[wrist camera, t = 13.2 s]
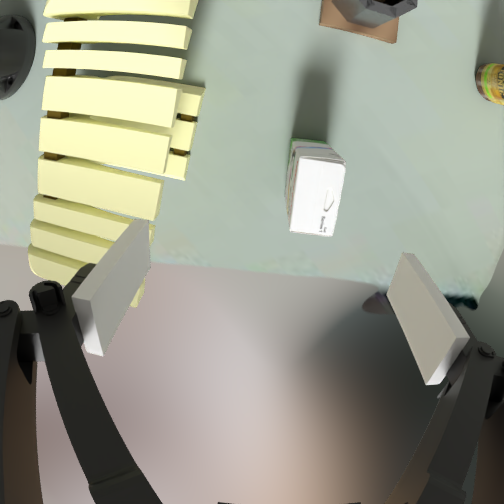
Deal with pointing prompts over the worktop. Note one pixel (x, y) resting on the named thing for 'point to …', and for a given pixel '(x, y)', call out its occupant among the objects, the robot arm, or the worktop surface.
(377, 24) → the grey hollow octagonal piece
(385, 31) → the post
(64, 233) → the slatted curved stool
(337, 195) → the ink box
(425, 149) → the worktop surface
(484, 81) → the sauce bottle
